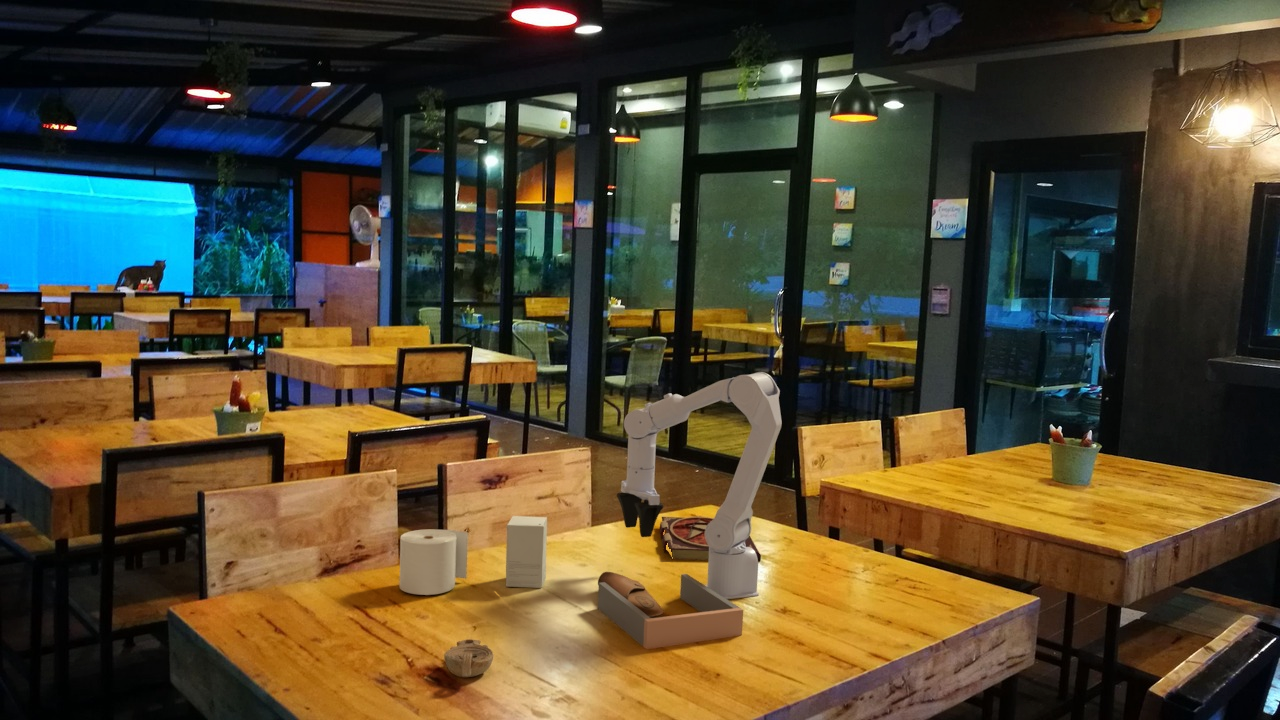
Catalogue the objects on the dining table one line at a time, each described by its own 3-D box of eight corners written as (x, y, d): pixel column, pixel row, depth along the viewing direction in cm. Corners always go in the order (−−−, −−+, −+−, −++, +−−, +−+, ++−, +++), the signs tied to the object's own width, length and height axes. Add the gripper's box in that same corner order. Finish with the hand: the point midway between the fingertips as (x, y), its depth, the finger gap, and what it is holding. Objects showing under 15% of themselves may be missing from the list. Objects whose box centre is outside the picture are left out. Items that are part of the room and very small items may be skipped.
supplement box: (546, 577, 197) (548, 516, 196) (541, 589, 190) (544, 525, 189) (510, 575, 197) (512, 514, 196) (504, 587, 190) (506, 524, 189)
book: (760, 566, 213) (761, 544, 213) (664, 563, 212) (665, 541, 212) (742, 532, 241) (743, 512, 241) (657, 529, 241) (658, 509, 240)
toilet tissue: (387, 590, 185) (388, 538, 184) (424, 573, 196) (425, 524, 196) (434, 599, 181) (436, 546, 181) (469, 581, 192) (470, 532, 192)
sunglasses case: (667, 612, 175) (648, 584, 174) (636, 636, 174) (617, 608, 172) (638, 582, 192) (620, 556, 191) (609, 603, 191) (591, 577, 189)
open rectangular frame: (685, 599, 187) (686, 573, 187) (741, 637, 168) (743, 609, 168) (597, 609, 180) (598, 582, 179) (646, 650, 161) (647, 621, 160)
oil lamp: (448, 655, 155) (449, 625, 155) (495, 656, 156) (496, 626, 156) (438, 690, 142) (439, 657, 142) (489, 691, 143) (490, 658, 142)
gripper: (609, 460, 203) (606, 524, 205) (638, 474, 190) (635, 542, 192) (639, 459, 206) (636, 521, 208) (670, 473, 193) (666, 539, 195)
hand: (638, 531), depth 200 cm, fingers open, 7 cm apart
